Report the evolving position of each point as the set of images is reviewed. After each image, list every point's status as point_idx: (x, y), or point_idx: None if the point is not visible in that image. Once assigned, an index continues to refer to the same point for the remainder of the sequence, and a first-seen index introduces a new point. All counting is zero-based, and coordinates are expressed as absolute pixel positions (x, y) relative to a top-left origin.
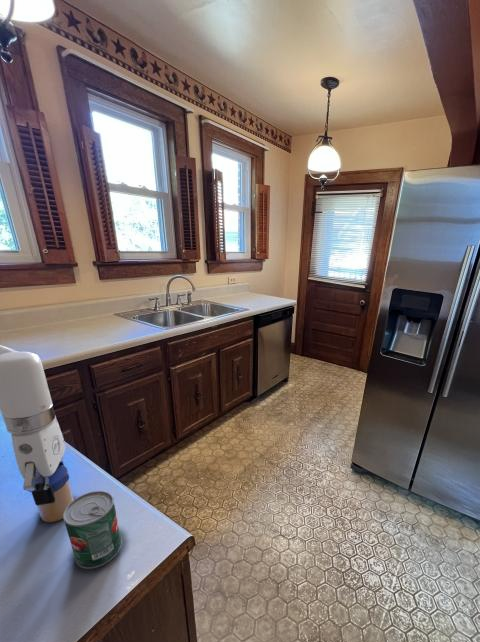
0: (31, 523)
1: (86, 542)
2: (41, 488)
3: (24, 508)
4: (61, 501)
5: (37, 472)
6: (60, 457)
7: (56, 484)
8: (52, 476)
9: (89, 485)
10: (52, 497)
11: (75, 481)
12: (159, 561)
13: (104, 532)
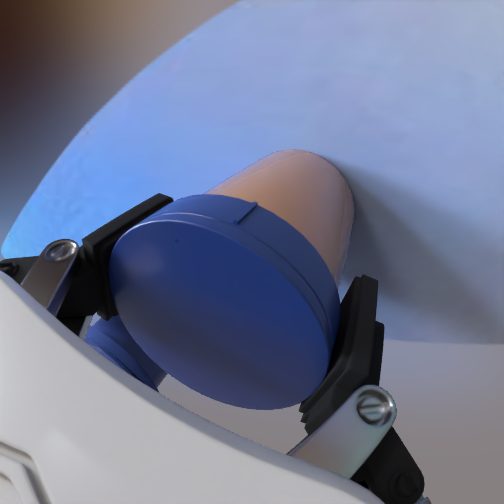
0: None
1: None
2: (393, 444)
3: None
4: (340, 225)
5: (155, 355)
6: (59, 383)
7: (328, 316)
8: (220, 323)
9: (200, 93)
10: (375, 305)
11: (160, 143)
12: None
13: None
